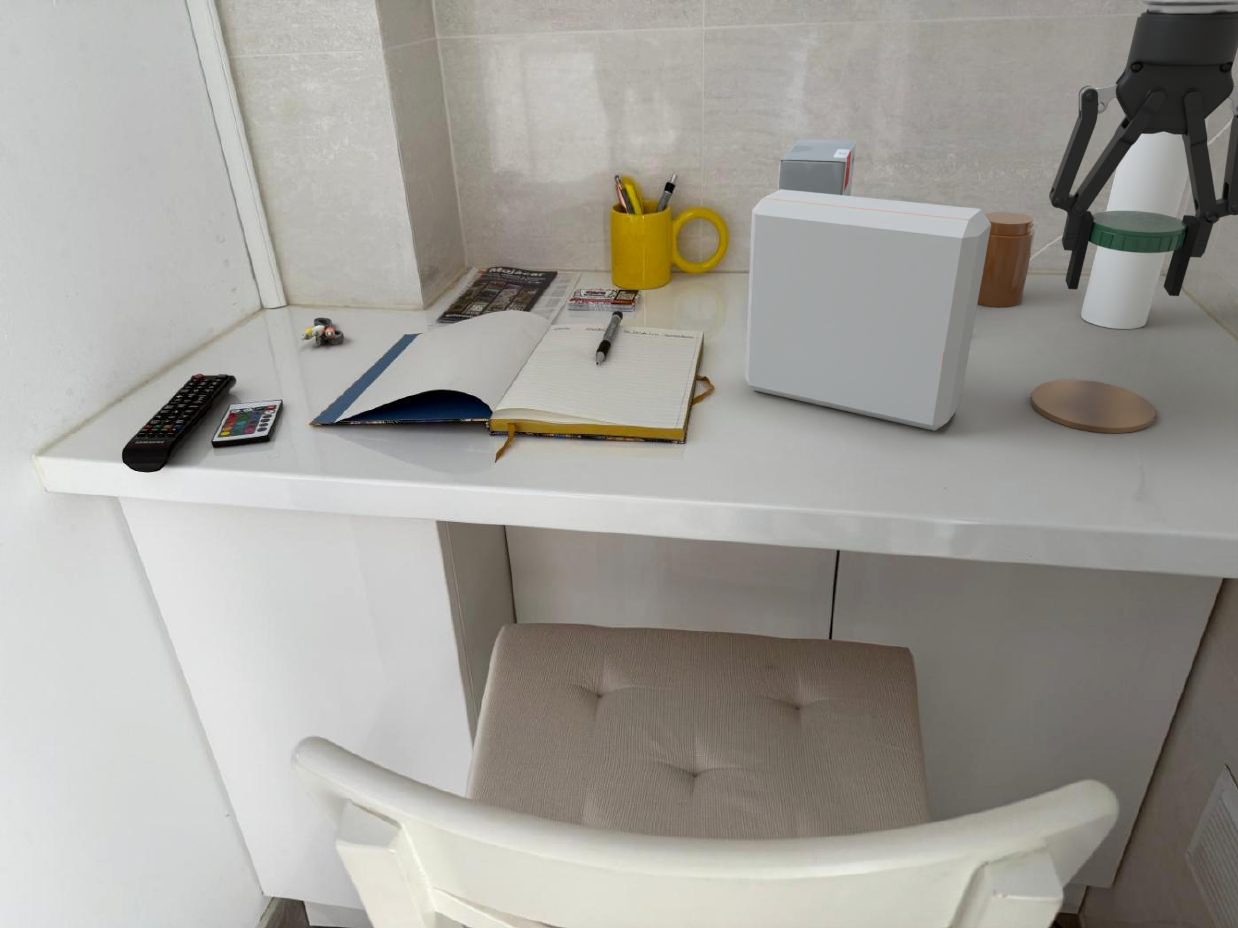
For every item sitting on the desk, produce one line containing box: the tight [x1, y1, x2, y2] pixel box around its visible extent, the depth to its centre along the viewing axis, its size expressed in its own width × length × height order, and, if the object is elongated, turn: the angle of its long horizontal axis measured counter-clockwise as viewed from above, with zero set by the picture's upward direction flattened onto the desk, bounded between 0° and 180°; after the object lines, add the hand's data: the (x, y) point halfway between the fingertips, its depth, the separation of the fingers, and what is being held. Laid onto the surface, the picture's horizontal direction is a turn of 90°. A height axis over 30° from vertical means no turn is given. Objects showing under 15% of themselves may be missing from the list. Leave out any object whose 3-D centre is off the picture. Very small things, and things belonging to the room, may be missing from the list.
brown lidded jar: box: [977, 211, 1036, 308], centre depth 113 cm, size 7×7×10 cm
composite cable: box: [300, 317, 345, 347], centre depth 111 cm, size 10×5×2 cm, turn 9°
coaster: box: [1030, 379, 1157, 434], centre depth 86 cm, size 11×11×1 cm
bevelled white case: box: [744, 189, 991, 432], centre depth 85 cm, size 21×8×20 cm, turn 57°
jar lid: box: [1088, 211, 1187, 253], centre depth 78 cm, size 8×8×2 cm
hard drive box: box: [777, 138, 857, 196], centre depth 110 cm, size 16×8×20 cm, turn 162°
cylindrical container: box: [1080, 132, 1189, 330], centre depth 101 cm, size 7×7×25 cm
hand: (1120, 287), depth 81 cm, fingers closed on jar lid, 7 cm apart
